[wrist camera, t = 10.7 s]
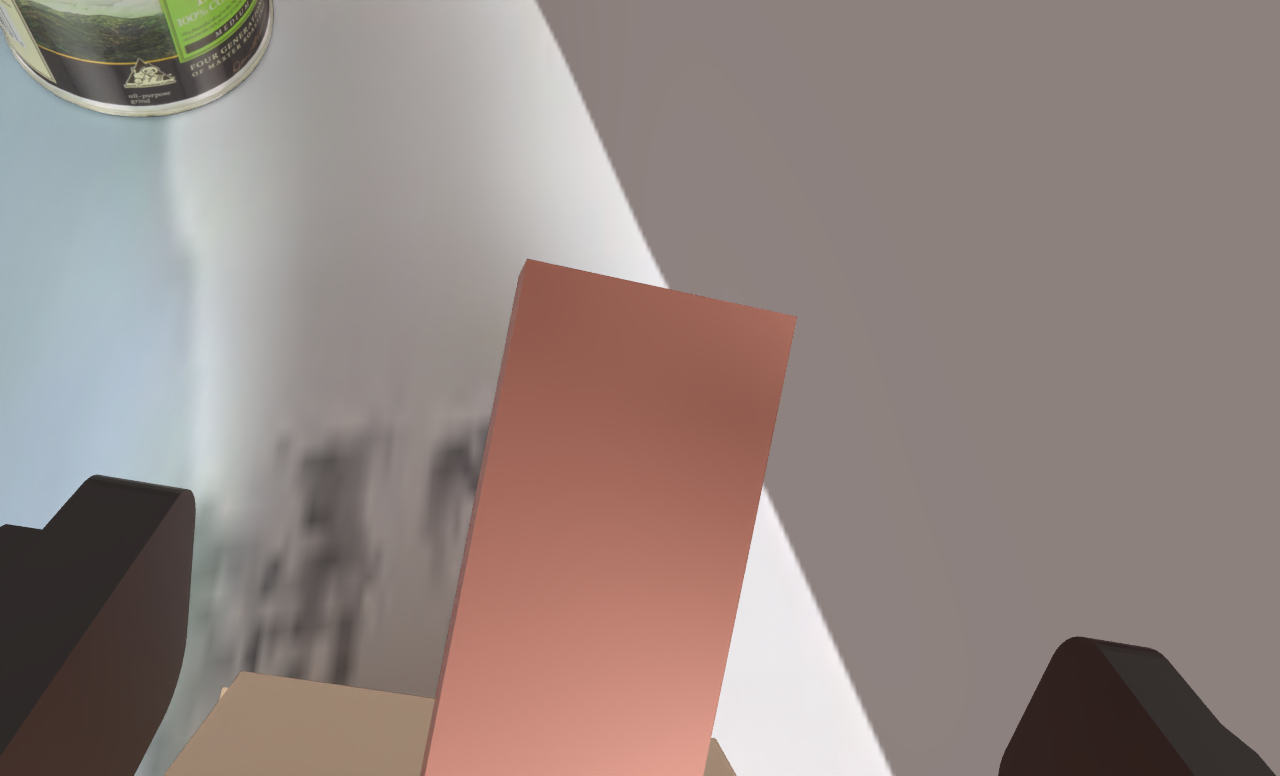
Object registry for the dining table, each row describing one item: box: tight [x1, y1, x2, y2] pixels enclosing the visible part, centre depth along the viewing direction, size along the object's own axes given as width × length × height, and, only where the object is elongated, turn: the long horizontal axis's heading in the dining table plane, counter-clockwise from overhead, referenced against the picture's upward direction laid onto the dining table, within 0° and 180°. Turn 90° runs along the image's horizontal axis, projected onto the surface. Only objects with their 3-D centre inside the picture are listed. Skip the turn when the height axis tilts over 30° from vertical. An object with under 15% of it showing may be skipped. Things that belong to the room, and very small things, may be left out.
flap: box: [164, 259, 797, 776], centre depth 18 cm, size 15×12×11 cm
